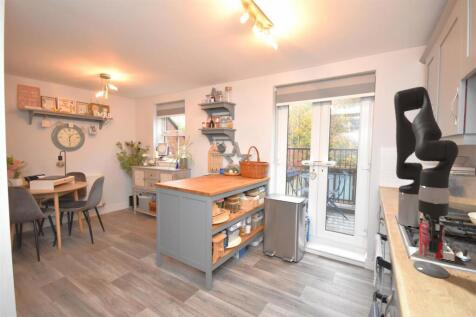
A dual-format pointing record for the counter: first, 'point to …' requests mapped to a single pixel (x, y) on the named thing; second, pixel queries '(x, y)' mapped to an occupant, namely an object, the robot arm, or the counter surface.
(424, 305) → the counter surface
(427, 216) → the robot arm
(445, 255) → the base
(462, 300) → the counter surface
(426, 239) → the beverage can
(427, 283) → the counter surface
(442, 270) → the coaster
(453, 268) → the counter surface
